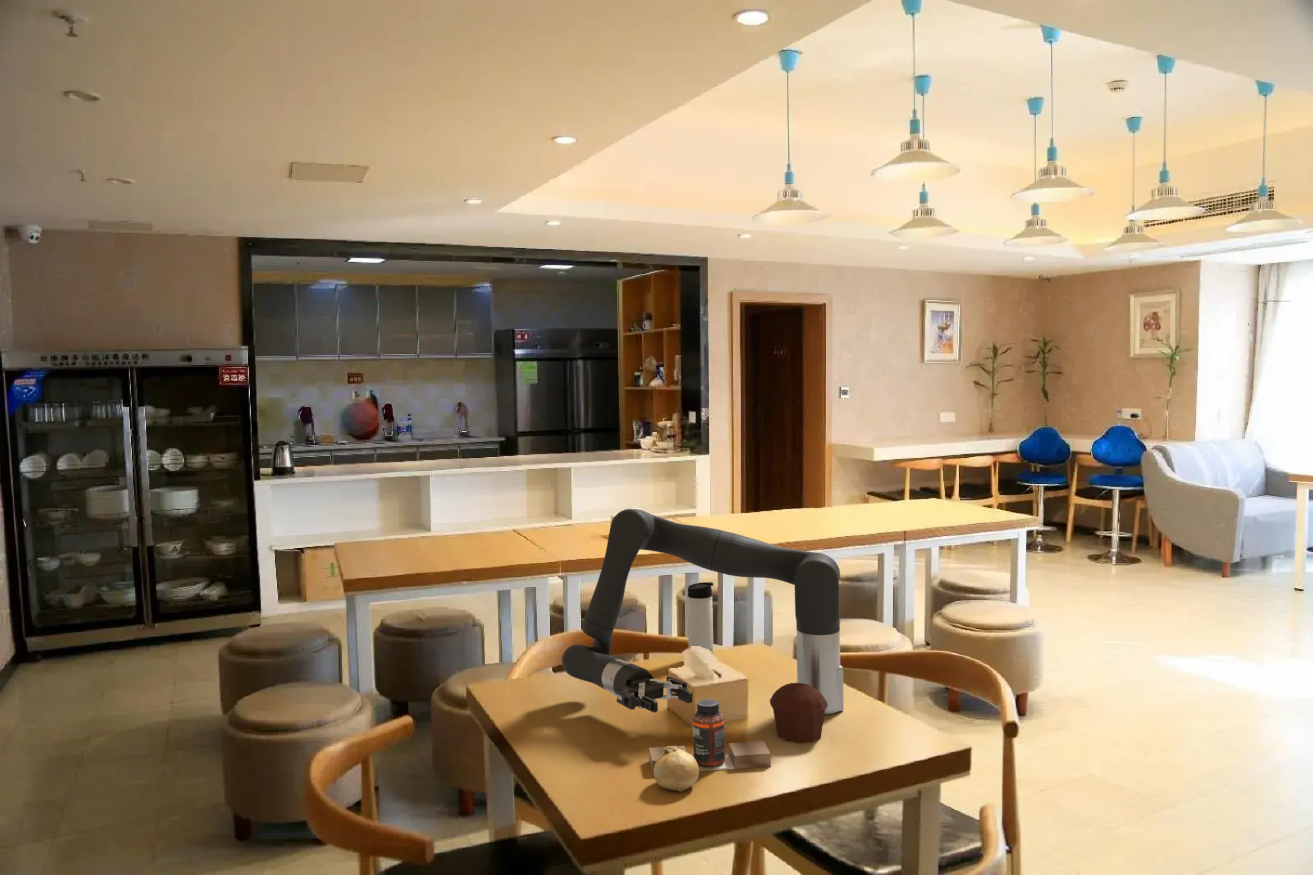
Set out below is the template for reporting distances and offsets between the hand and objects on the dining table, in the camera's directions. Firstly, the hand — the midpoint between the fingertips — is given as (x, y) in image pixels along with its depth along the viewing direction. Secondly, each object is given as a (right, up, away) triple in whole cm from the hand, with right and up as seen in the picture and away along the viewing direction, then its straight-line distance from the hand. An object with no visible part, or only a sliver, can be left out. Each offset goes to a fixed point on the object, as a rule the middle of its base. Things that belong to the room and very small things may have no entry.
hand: (674, 702), depth 184 cm
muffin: (+25, -8, +5) cm, 27 cm away
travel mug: (+8, -5, +55) cm, 56 cm away
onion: (0, -10, -18) cm, 20 cm away
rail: (+6, -9, -9) cm, 14 cm away
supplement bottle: (+6, -9, -8) cm, 14 cm away
